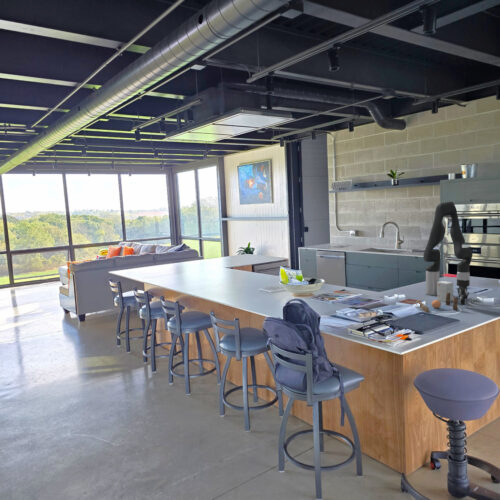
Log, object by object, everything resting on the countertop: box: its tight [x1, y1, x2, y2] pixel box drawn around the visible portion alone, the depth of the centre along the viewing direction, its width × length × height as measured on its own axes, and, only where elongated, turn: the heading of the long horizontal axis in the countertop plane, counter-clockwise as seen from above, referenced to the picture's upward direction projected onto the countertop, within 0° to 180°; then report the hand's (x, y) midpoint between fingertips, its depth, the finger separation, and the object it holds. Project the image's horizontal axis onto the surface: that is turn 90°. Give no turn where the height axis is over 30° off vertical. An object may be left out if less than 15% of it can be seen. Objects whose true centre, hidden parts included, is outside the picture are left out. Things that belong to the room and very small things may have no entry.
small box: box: [436, 280, 454, 303], centre depth 296 cm, size 8×6×13 cm
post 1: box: [445, 293, 451, 306], centre depth 286 cm, size 3×3×8 cm
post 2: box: [452, 296, 459, 311], centre depth 273 cm, size 3×3×8 cm
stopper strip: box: [415, 300, 430, 313], centre depth 282 cm, size 20×2×2 cm, turn 175°
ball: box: [431, 299, 442, 308], centre depth 279 cm, size 6×6×6 cm
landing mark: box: [424, 304, 452, 312], centre depth 281 cm, size 13×13×1 cm
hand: (462, 304), depth 279 cm, fingers closed
